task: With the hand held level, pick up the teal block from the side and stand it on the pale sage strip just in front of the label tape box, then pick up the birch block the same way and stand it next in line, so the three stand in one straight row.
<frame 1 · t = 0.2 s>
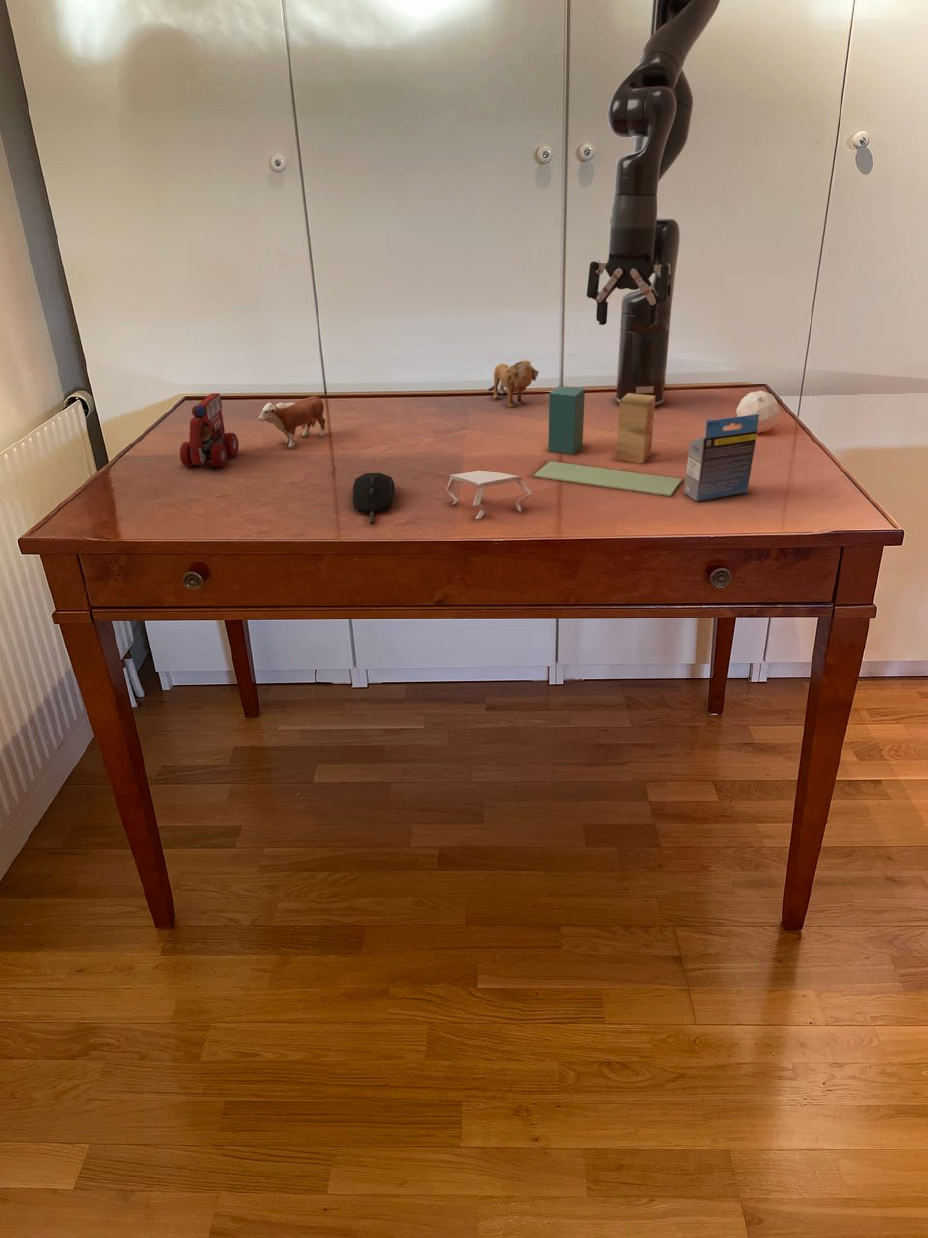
hand: (625, 325, 155), 17 cm above the table, tool pointing down, fingers open, 8 cm apart
label tape box: (715, 495, 132), on the table
sage strip: (607, 478, 139), on the table
beige toy table: (490, 510, 130), on the table
toy fire truck: (211, 462, 151), on the table
ornament: (754, 432, 157), on the table
birch block: (633, 457, 147), on the table
lion figurine: (511, 402, 178), on the table
bull figurine: (297, 442, 159), on the table
teal block: (565, 448, 152), on the table
gaming mouse: (373, 505, 133), on the table
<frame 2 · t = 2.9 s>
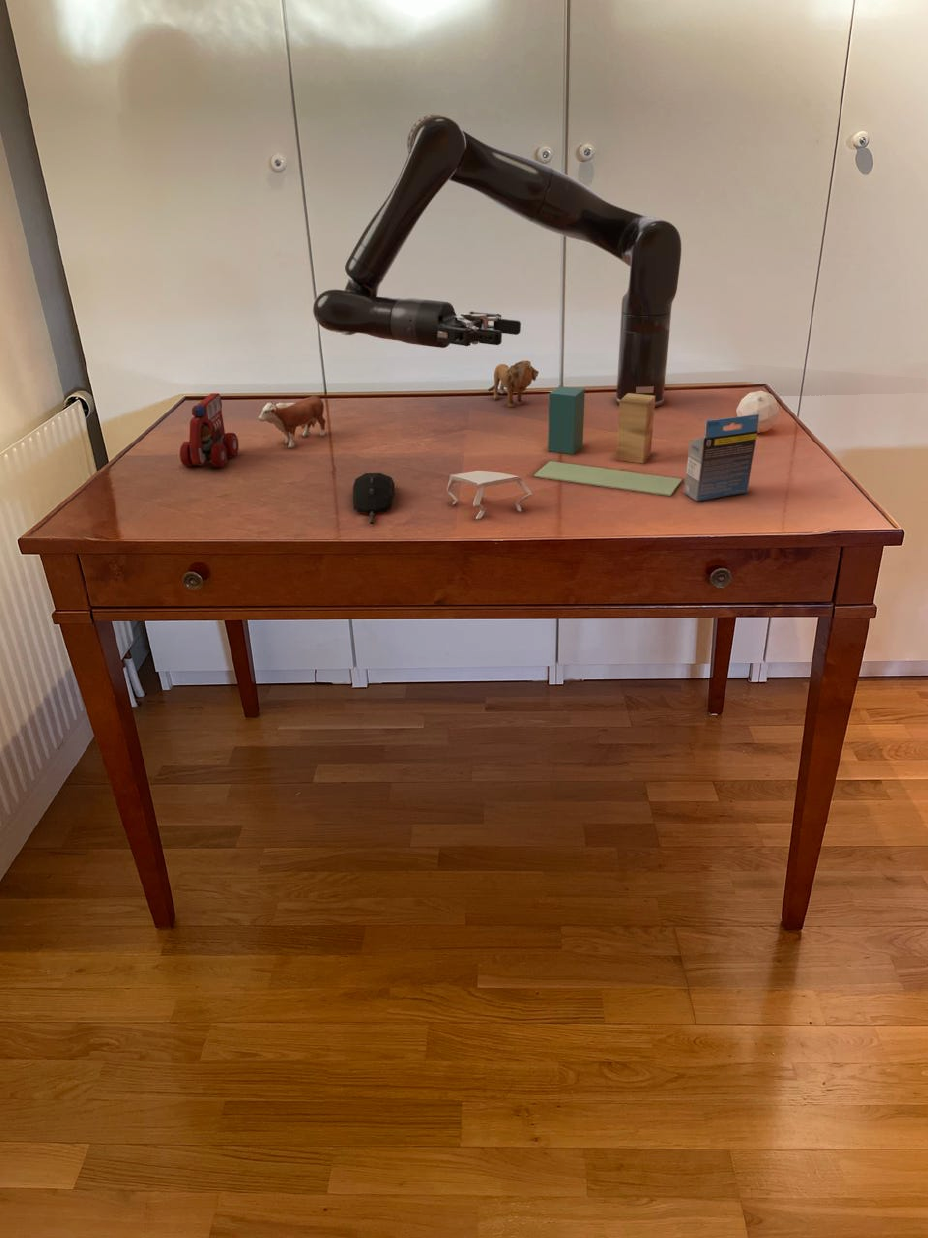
hand: (510, 332, 146), 19 cm above the table, tool horizontal, fingers open, 8 cm apart
nothing on the table moved.
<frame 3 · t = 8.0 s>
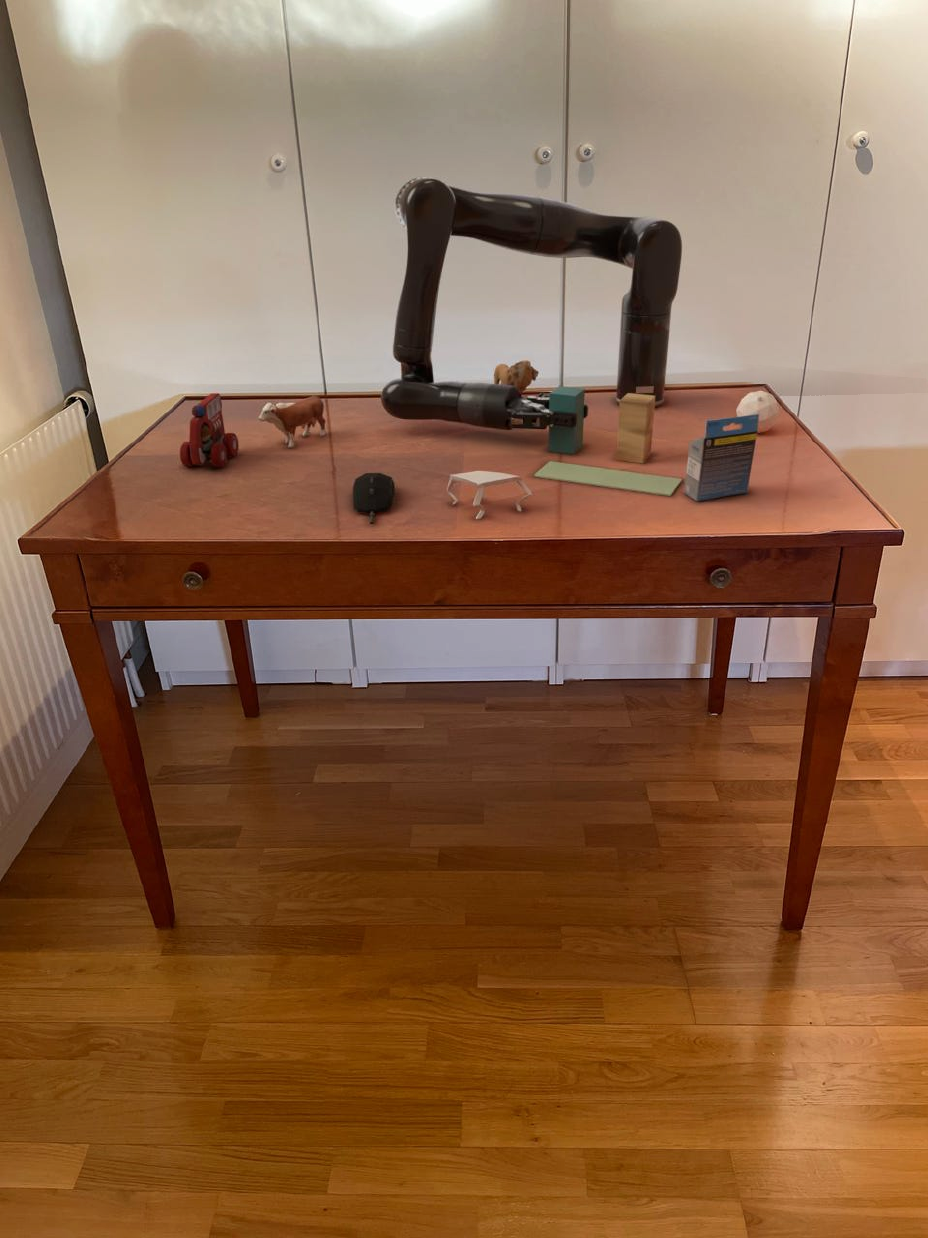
hand: (581, 415, 148), 6 cm above the table, tool horizontal, fingers closed on teal block, 4 cm apart
teal block: (565, 448, 152), on the table, touching gripper
everything else where it was.
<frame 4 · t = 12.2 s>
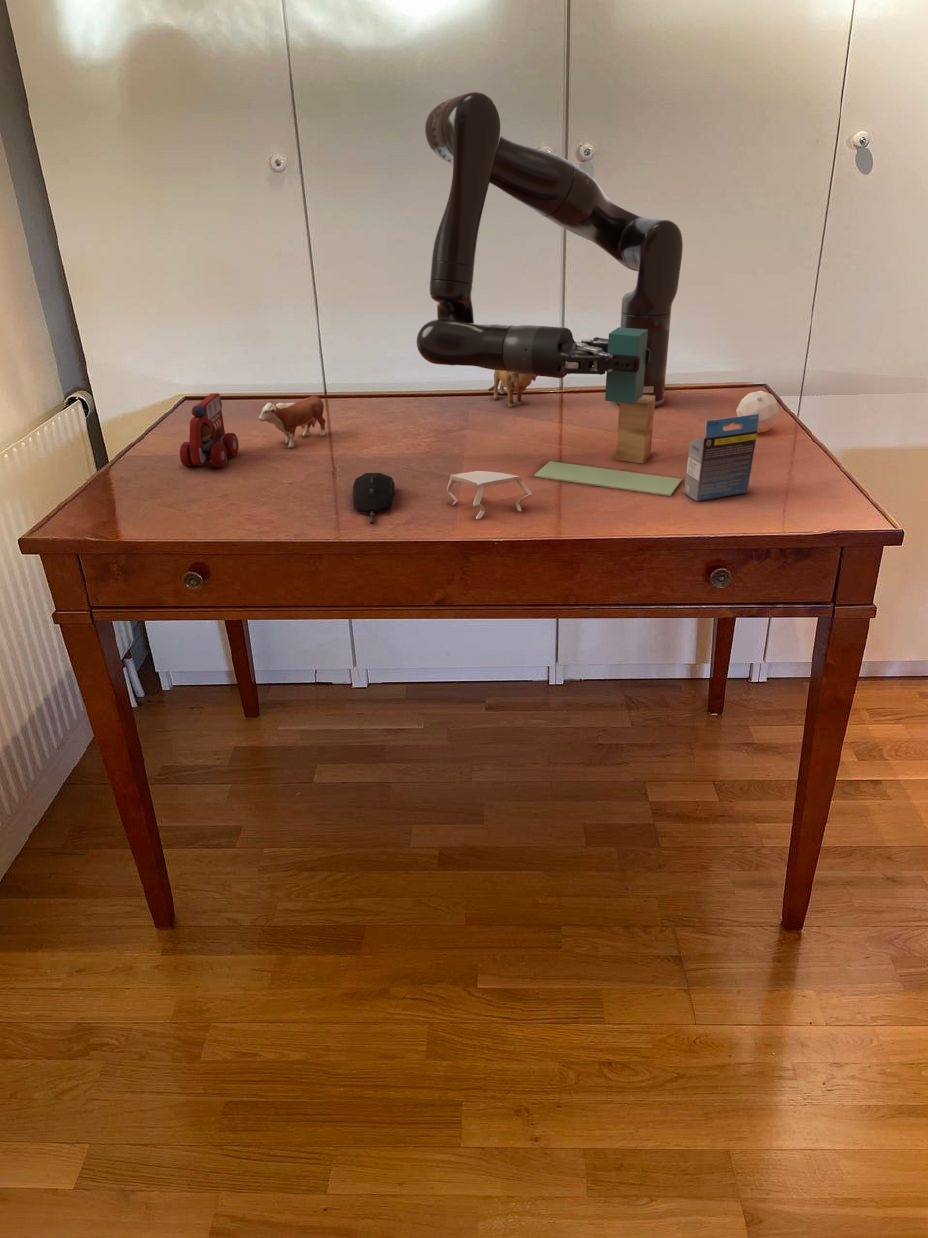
hand: (644, 360, 132), 18 cm above the table, tool horizontal, fingers closed on teal block, 4 cm apart
teal block: (624, 398, 136), point 12 cm above the table, touching gripper
everything else where it was.
when the fingers open (6 cm above the table, at t = 16.7 s): teal block stays where it is, resting on sage strip.
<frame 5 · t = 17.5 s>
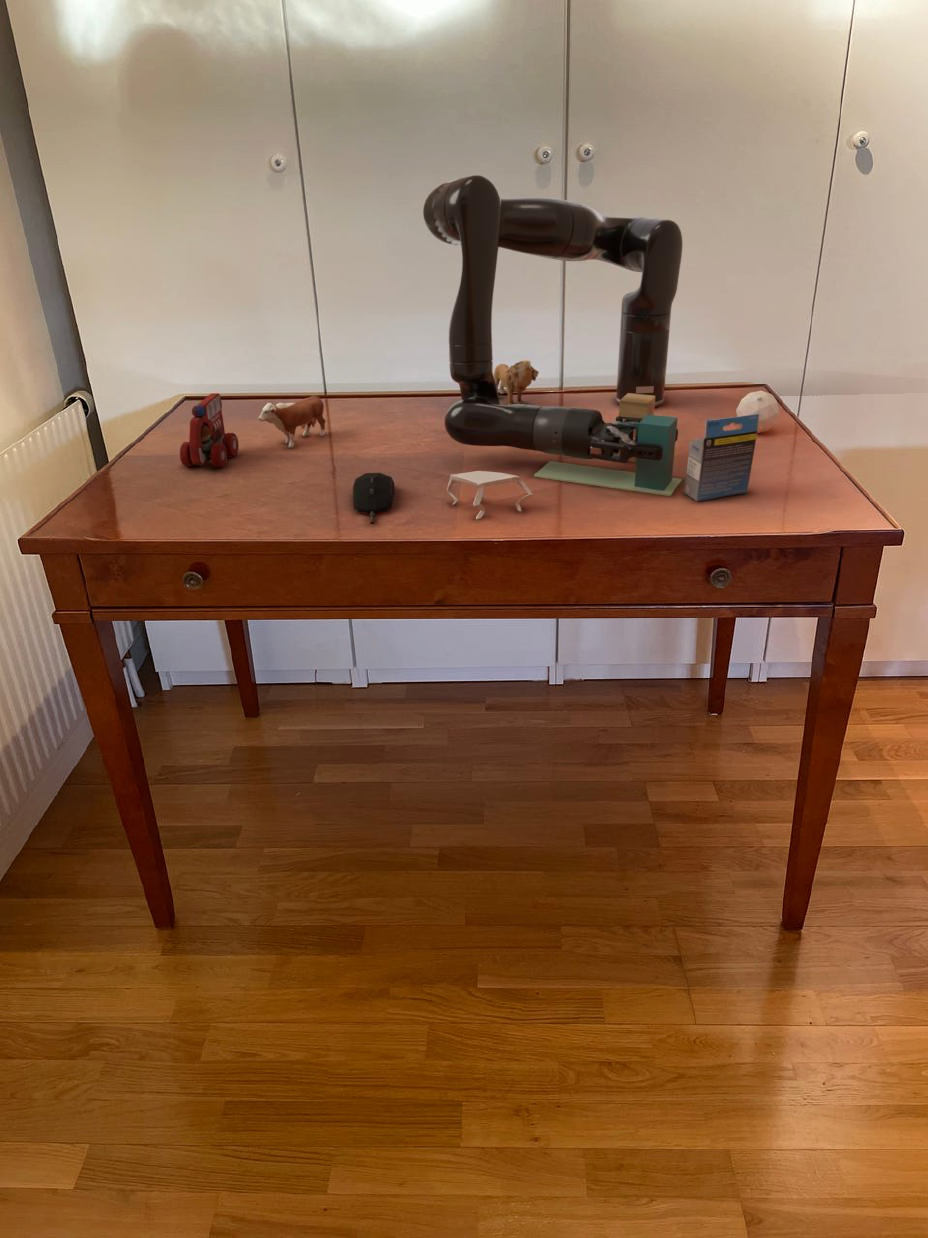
hand: (670, 444, 132), 7 cm above the table, tool horizontal, fingers open, 8 cm apart
teal block: (653, 483, 136), resting on sage strip
everything else where it was.
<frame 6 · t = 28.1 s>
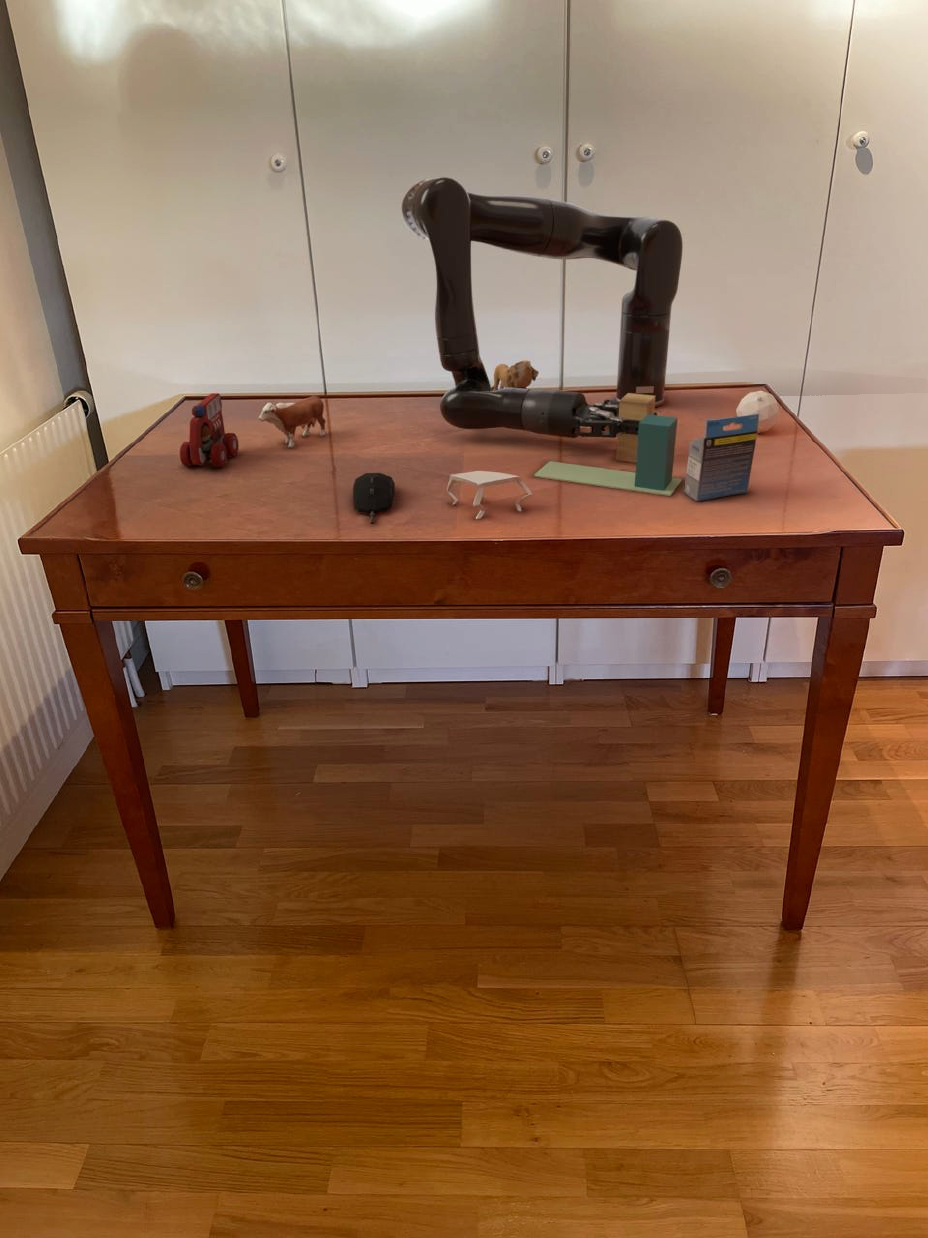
hand: (651, 423, 143), 6 cm above the table, tool horizontal, fingers closed on birch block, 4 cm apart
birch block: (633, 457, 147), on the table, touching gripper
everything else where it was.
when the fingers open (6 cm above the table, at t = 35.5 s): birch block stays where it is, resting on sage strip.
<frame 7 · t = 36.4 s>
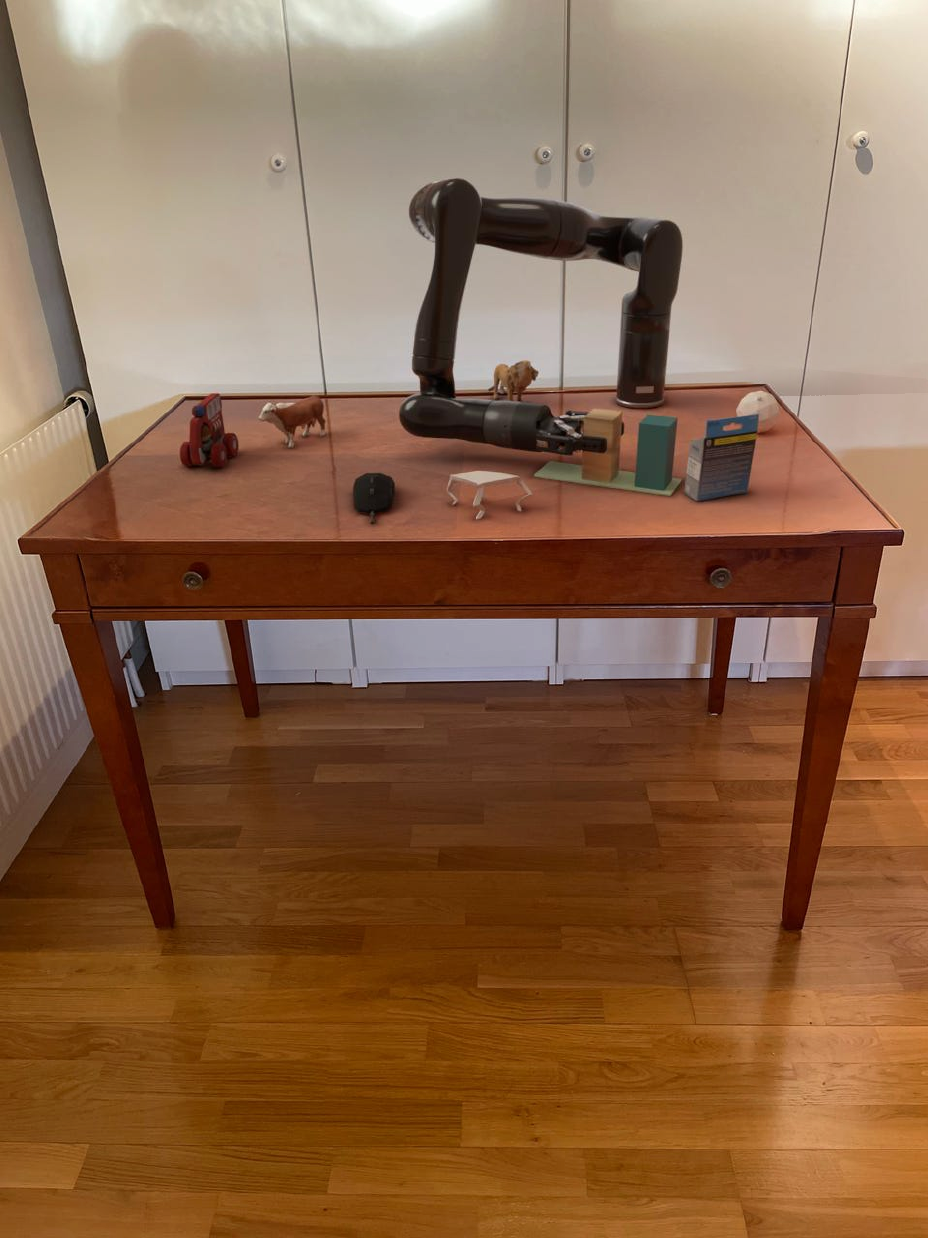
hand: (615, 437, 135), 7 cm above the table, tool horizontal, fingers open, 8 cm apart
birch block: (600, 476, 139), resting on sage strip
everything else where it was.
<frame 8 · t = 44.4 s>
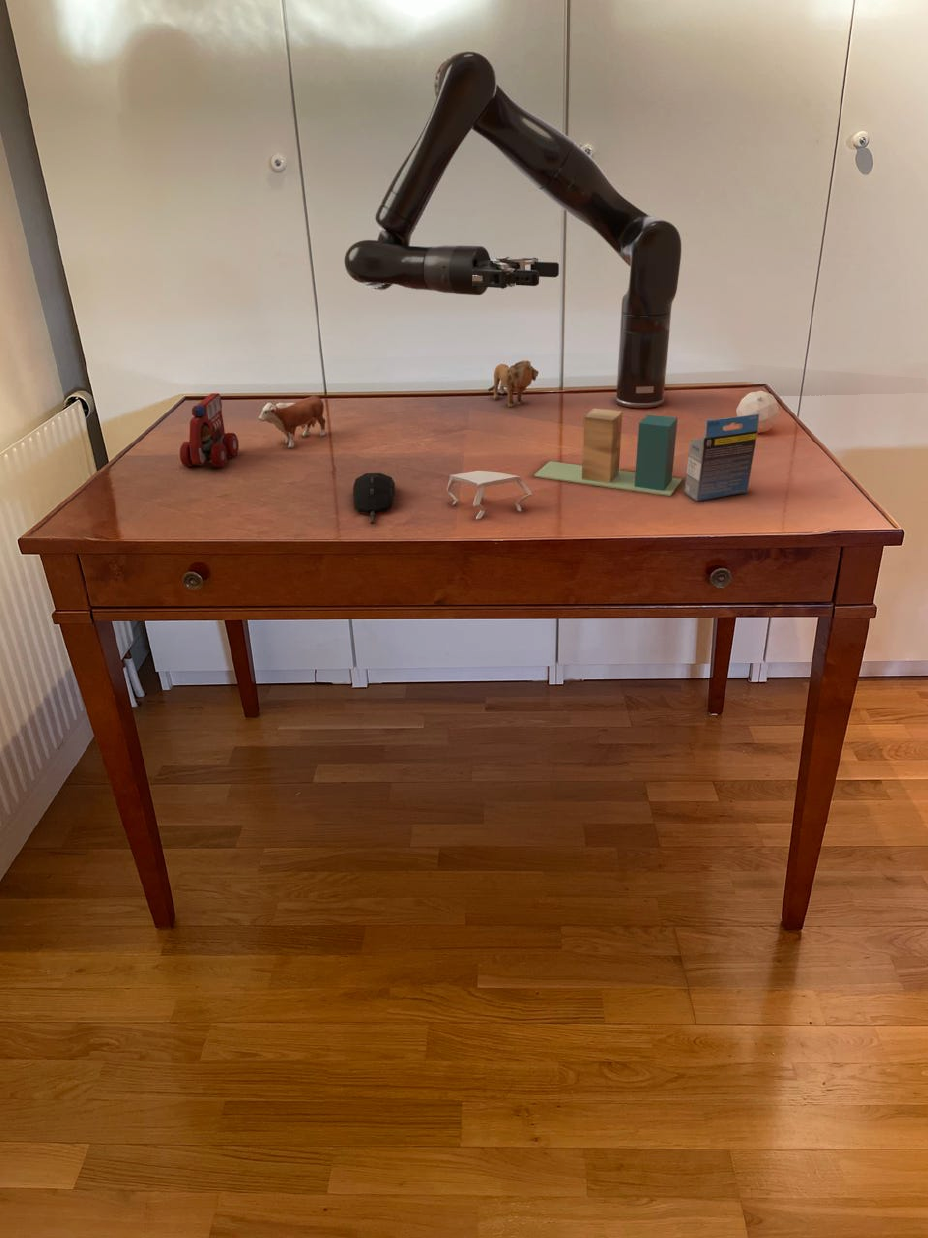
hand: (548, 273, 140), 28 cm above the table, tool horizontal, fingers open, 8 cm apart
nothing on the table moved.
at the end: teal block 0.1 cm from the target spot on the sage strip, point 0.3 cm above the sage strip's base; birch block 0.1 cm from the target spot on the sage strip, point 0.3 cm above the sage strip's base; label tape box moved 0.2 cm from its start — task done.
